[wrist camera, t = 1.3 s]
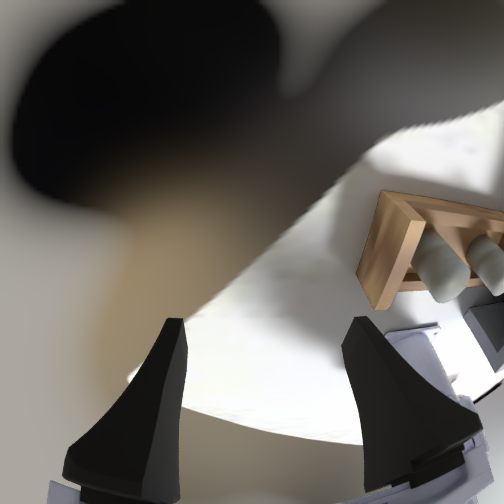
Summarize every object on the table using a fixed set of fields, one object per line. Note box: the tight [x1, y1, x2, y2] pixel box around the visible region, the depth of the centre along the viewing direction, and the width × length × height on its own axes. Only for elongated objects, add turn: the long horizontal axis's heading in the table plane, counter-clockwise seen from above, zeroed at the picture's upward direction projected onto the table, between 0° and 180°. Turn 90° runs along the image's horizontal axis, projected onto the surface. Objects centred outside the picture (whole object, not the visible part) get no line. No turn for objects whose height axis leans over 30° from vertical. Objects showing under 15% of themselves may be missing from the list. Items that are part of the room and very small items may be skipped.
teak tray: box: [356, 191, 504, 311], centre depth 18 cm, size 7×16×6 cm, turn 86°
